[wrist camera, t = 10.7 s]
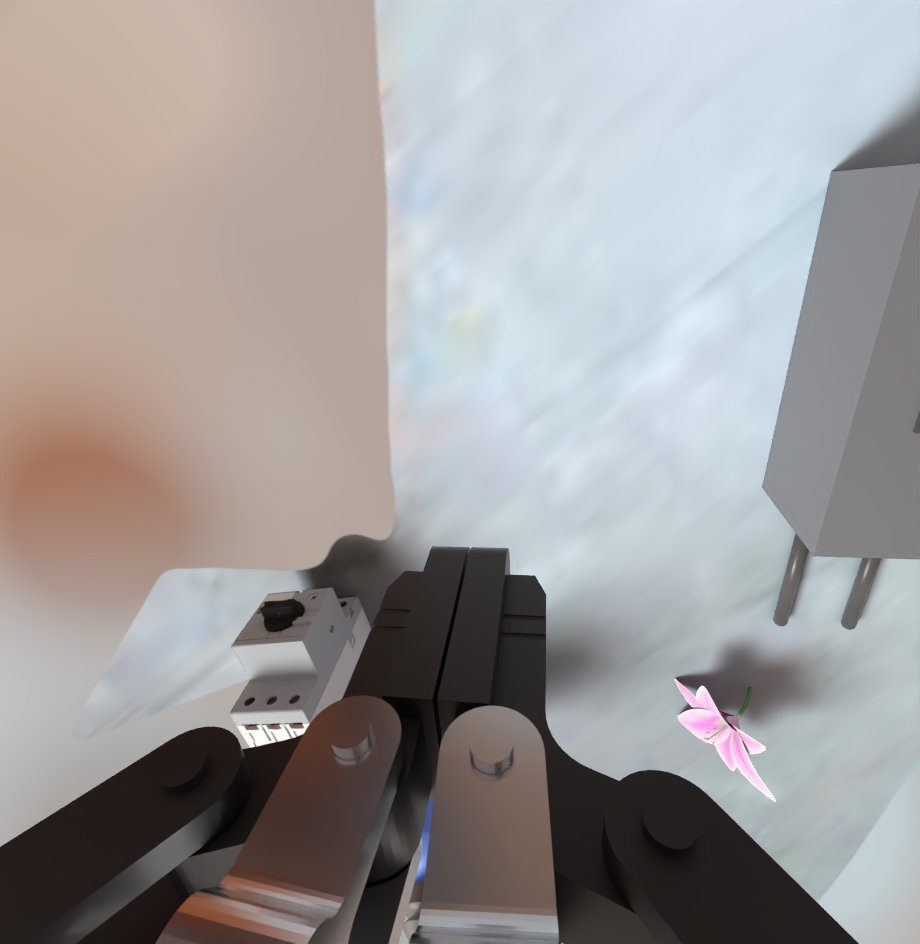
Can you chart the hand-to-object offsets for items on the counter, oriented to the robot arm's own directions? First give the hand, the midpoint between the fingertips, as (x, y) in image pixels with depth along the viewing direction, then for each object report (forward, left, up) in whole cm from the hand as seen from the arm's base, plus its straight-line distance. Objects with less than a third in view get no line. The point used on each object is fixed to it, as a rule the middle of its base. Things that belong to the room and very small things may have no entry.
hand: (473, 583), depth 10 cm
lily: (+43, +19, -35) cm, 59 cm away
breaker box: (+13, +27, -35) cm, 46 cm away
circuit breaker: (+33, -23, -35) cm, 53 cm away
